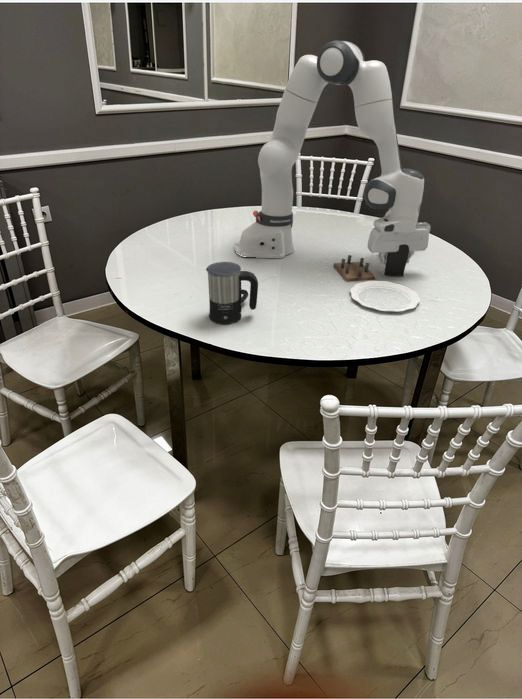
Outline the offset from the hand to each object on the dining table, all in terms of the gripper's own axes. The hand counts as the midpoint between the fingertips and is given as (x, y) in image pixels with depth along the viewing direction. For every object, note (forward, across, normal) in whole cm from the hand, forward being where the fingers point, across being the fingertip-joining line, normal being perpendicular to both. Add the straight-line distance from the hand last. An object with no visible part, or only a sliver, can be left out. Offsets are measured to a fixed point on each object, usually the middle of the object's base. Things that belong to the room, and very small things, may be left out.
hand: (394, 263), depth 159 cm
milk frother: (+4, +59, +18) cm, 62 cm away
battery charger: (+4, 0, 0) cm, 4 cm away
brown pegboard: (+4, +13, -3) cm, 14 cm away
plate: (+5, +10, +17) cm, 21 cm away
